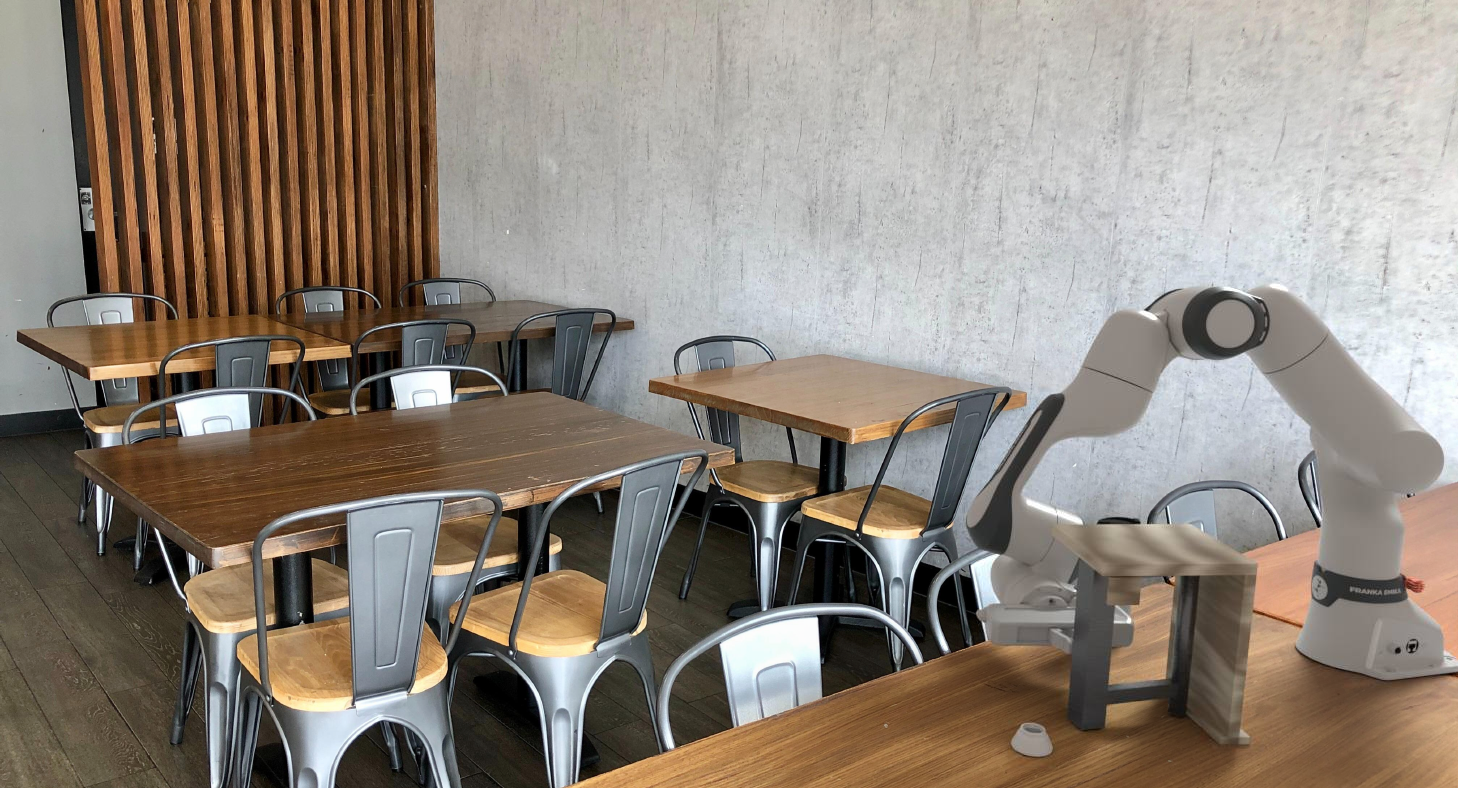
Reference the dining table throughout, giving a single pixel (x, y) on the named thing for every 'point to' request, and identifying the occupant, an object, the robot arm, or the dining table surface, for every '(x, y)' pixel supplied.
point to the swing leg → (1095, 653)
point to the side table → (1218, 606)
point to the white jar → (1032, 740)
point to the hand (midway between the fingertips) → (1076, 649)
